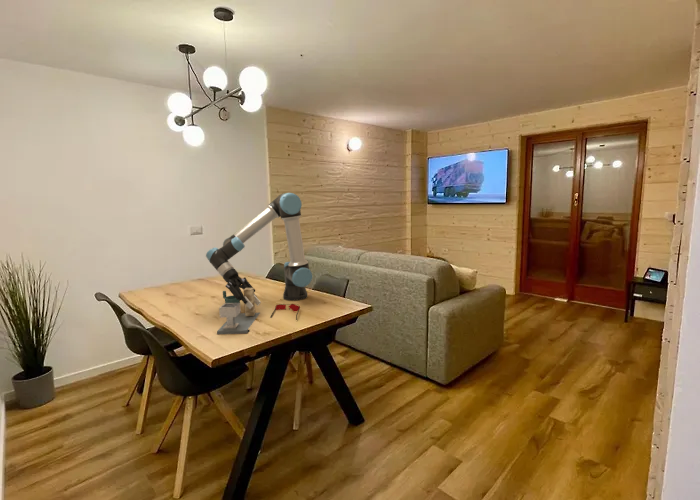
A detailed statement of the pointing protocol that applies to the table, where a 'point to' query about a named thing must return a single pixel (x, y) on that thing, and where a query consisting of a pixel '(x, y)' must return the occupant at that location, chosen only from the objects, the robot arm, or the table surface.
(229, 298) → the bracket
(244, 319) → the board
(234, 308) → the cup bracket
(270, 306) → the table surface
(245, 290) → the light brown tall block
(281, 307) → the glasses
